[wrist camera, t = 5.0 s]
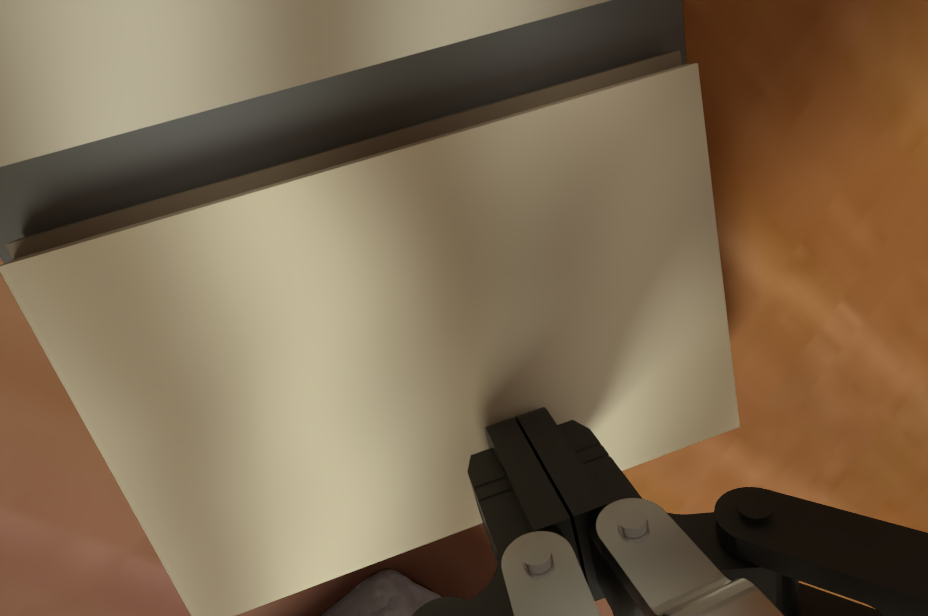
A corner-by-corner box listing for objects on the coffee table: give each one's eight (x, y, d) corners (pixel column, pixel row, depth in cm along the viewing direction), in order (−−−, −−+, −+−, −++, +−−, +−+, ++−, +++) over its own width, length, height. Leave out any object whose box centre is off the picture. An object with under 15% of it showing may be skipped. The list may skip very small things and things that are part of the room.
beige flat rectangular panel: (207, 591, 15) (198, 629, 14) (19, 238, 12) (-12, 251, 11) (711, 405, 17) (739, 426, 16) (665, 52, 14) (695, 47, 13)
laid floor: (210, 589, 17) (202, 640, 15) (-478, -548, 8) (-655, -684, 6) (705, 408, 19) (739, 438, 17) (621, -685, 10) (678, -815, 8)
